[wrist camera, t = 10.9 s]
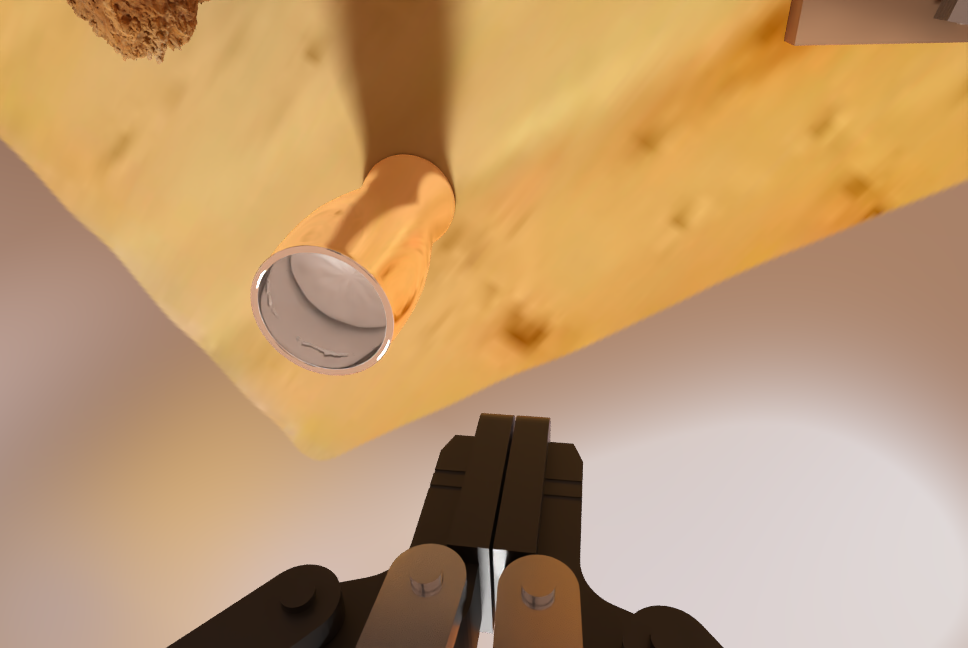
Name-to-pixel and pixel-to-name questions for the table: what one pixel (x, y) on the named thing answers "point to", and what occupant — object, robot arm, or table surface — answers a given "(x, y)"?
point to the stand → (869, 23)
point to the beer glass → (354, 268)
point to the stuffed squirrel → (140, 24)
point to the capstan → (953, 11)
